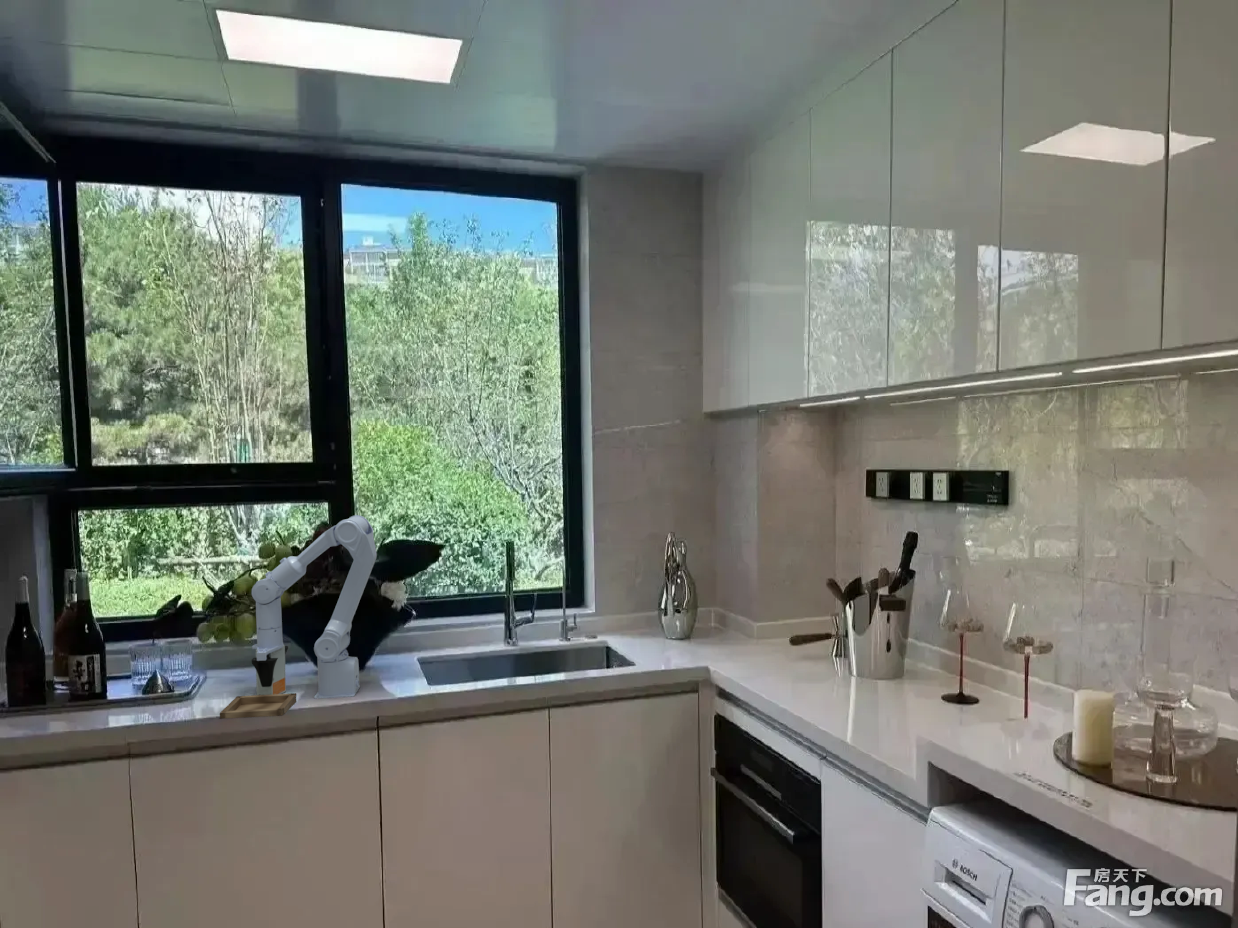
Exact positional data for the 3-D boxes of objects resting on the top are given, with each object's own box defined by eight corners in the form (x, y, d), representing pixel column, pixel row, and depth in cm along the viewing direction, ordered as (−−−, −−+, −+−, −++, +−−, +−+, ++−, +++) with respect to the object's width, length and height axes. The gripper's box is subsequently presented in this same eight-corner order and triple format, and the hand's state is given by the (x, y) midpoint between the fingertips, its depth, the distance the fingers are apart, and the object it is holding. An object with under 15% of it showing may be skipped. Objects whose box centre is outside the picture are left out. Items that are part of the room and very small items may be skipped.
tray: (296, 703, 195) (296, 693, 195) (283, 720, 183) (282, 709, 183) (237, 706, 193) (237, 696, 193) (220, 724, 182) (219, 713, 182)
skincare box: (272, 699, 198) (270, 650, 197) (256, 698, 198) (254, 650, 198) (287, 691, 204) (285, 644, 203) (271, 690, 204) (270, 643, 204)
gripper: (261, 620, 207) (263, 673, 208) (242, 635, 192) (244, 691, 193) (290, 619, 208) (292, 671, 208) (273, 633, 193) (275, 690, 194)
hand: (271, 681), depth 201 cm, fingers closed on skincare box, 7 cm apart
